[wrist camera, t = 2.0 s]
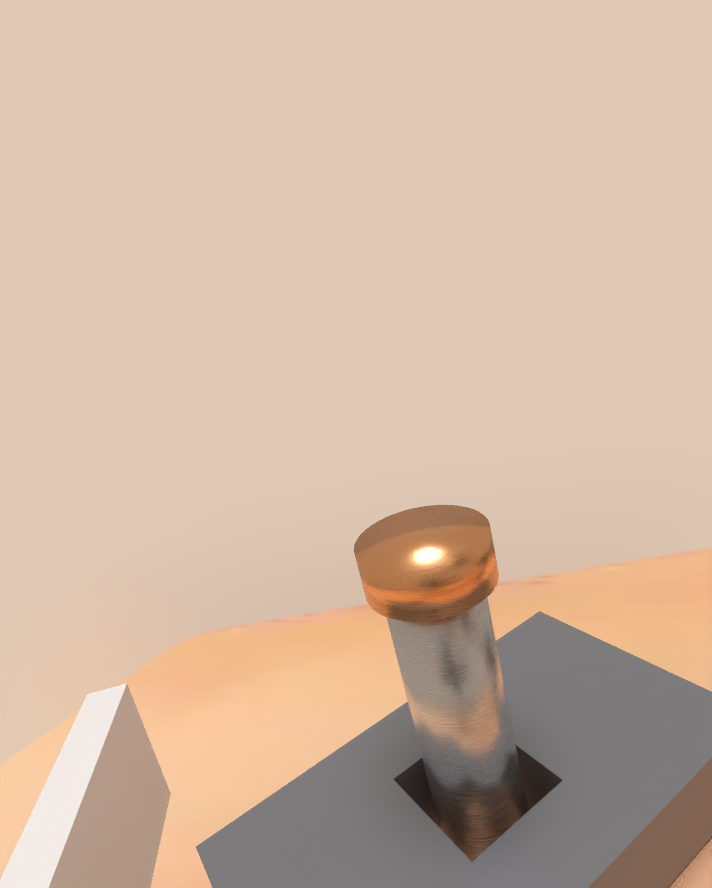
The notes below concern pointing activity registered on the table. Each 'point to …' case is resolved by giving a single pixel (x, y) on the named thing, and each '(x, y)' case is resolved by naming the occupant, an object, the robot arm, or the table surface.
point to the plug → (449, 662)
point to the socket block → (544, 779)
